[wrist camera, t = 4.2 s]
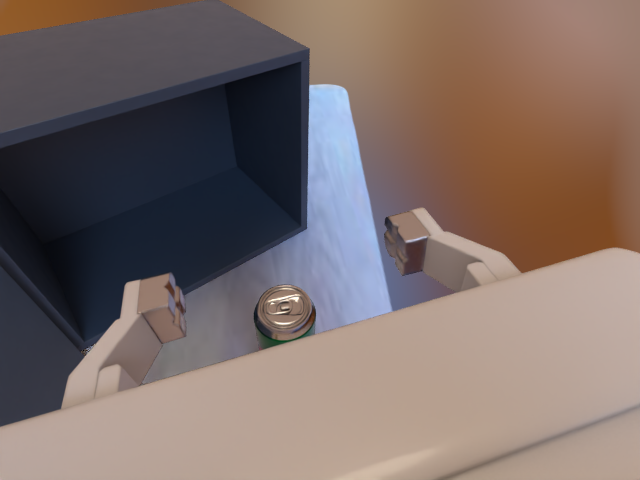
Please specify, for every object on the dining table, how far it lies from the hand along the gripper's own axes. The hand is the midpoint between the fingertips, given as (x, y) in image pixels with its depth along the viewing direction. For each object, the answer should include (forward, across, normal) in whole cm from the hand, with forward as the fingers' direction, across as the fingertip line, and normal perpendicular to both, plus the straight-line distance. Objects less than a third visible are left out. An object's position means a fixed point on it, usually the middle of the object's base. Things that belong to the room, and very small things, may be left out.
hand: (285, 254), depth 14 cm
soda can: (+10, +2, +26) cm, 28 cm away
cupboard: (+32, +12, +23) cm, 41 cm away
